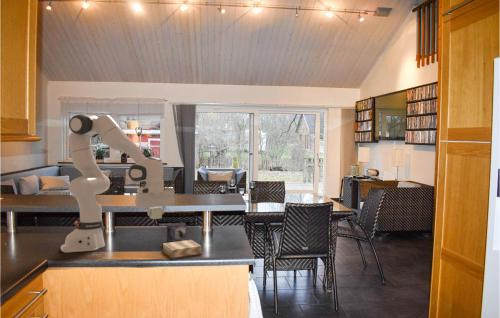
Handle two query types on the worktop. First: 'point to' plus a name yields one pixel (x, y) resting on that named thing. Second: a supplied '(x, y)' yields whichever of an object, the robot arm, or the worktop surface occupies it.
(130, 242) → the worktop surface
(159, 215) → the sage cube
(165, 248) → the birch platform
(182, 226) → the small box
